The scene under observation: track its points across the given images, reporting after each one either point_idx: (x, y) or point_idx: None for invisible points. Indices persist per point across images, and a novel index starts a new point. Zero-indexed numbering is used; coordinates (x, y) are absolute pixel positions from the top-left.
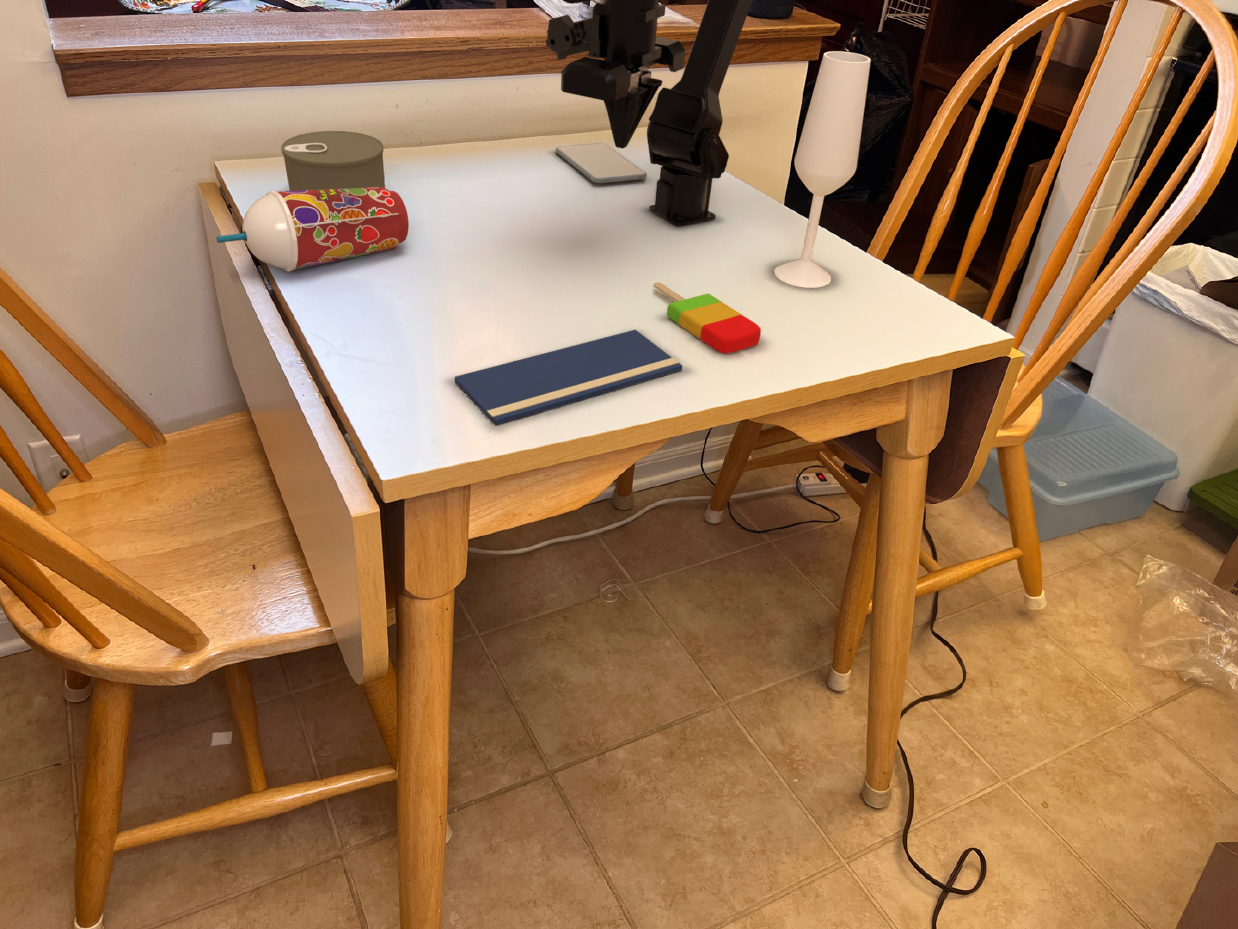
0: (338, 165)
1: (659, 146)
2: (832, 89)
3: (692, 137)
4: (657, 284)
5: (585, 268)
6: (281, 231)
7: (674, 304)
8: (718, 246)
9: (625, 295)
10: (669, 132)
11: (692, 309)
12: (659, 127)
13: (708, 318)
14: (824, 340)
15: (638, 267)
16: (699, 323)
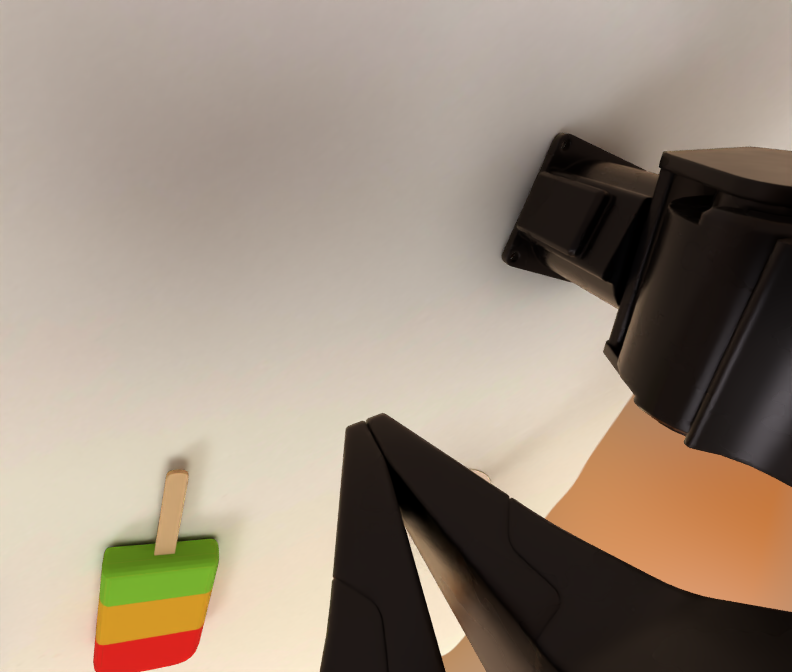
0: None
1: (664, 263)
2: None
3: (674, 422)
4: (174, 480)
5: (100, 292)
6: None
7: (106, 583)
8: (466, 371)
9: (95, 447)
10: (706, 331)
11: (126, 604)
12: (737, 284)
13: (126, 632)
14: (285, 635)
15: (242, 360)
16: (98, 636)
